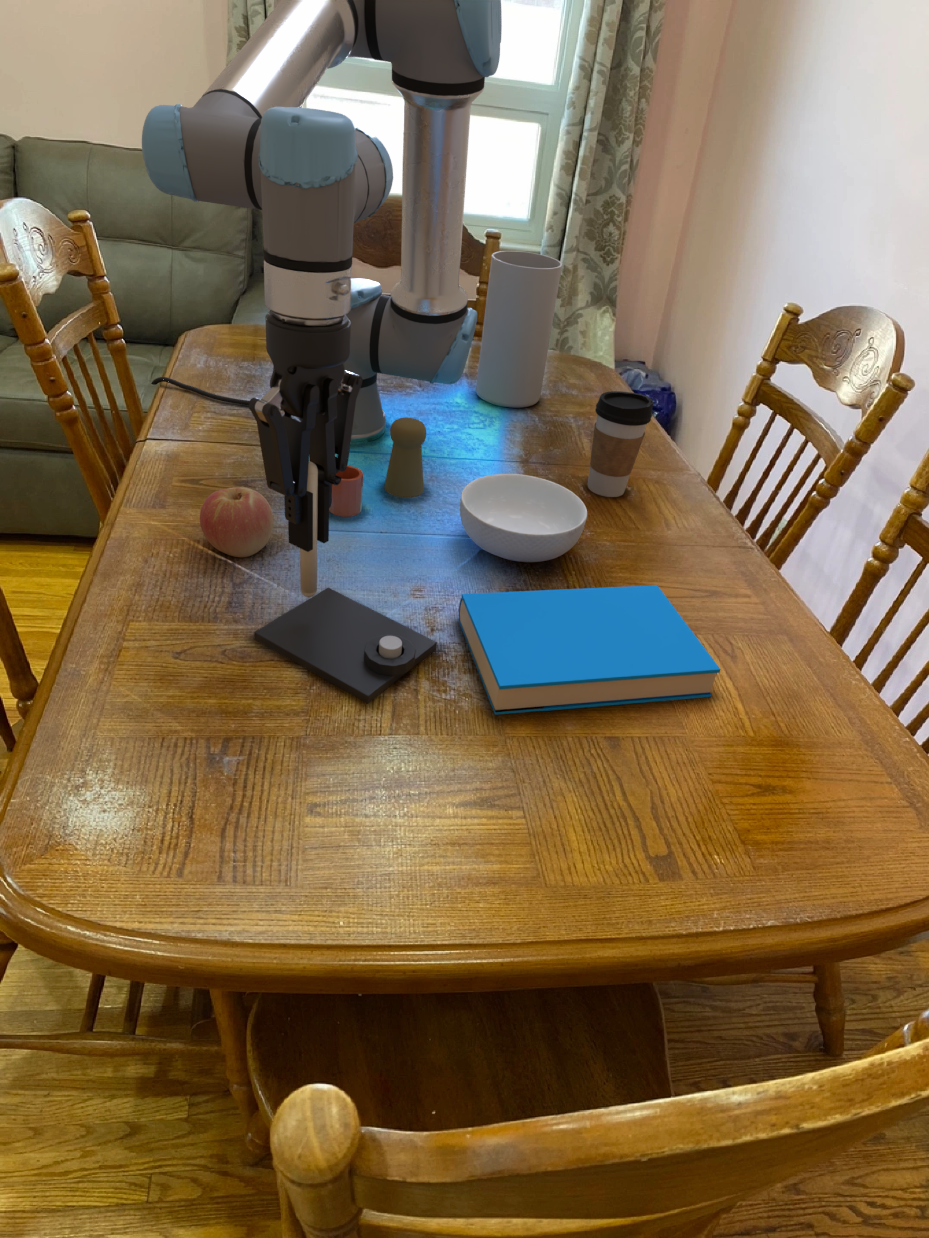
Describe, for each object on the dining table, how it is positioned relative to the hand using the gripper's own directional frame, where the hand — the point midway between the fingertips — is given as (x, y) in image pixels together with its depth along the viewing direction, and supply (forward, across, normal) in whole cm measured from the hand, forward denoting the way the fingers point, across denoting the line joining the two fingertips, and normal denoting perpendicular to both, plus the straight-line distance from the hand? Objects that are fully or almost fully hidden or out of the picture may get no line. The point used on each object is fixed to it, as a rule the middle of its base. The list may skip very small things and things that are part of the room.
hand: (308, 541), depth 87 cm
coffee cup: (+11, +58, -9) cm, 60 cm away
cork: (+11, +34, +13) cm, 38 cm away
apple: (+11, +6, +18) cm, 22 cm away
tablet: (+11, 0, -5) cm, 12 cm away
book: (+11, +16, -26) cm, 33 cm away
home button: (+9, 0, -11) cm, 15 cm away
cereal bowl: (+11, +32, -8) cm, 35 cm away
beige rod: (+7, 0, 0) cm, 7 cm away
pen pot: (+11, +23, +15) cm, 29 cm away
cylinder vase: (+11, +80, +23) cm, 84 cm away
